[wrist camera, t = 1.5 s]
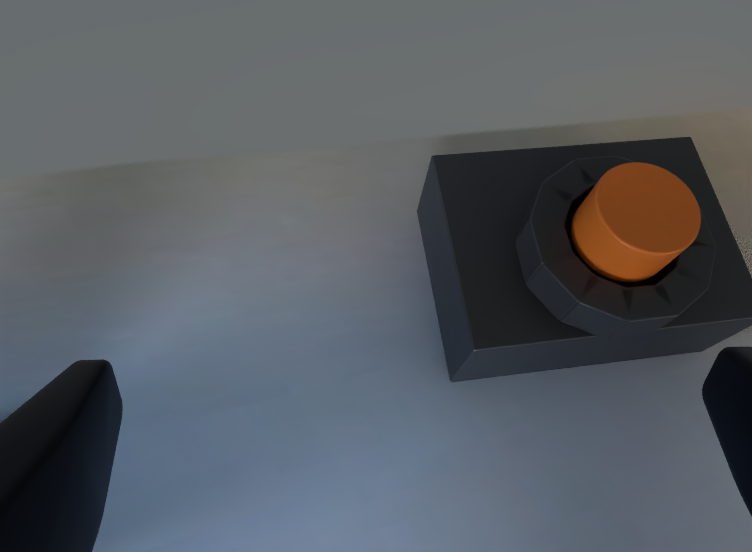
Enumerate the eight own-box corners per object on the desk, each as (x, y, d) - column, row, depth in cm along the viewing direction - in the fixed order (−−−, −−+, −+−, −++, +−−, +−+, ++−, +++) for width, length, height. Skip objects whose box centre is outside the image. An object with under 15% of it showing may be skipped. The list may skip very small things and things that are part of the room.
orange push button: (647, 192, 22) (680, 157, 20) (680, 278, 20) (718, 249, 18) (558, 200, 21) (582, 164, 19) (585, 288, 20) (614, 259, 18)
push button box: (642, 191, 28) (717, 106, 23) (704, 354, 25) (808, 301, 20) (416, 210, 27) (439, 125, 22) (451, 386, 24) (487, 338, 18)
